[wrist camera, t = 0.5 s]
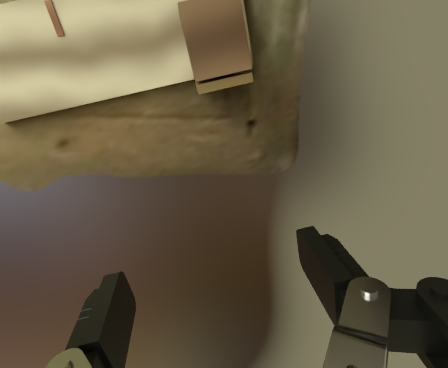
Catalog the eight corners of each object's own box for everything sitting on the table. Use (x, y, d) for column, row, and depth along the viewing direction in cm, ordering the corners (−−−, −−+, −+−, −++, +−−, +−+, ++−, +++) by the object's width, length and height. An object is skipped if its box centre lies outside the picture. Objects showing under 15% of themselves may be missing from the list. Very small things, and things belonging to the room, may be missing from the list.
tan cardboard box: (177, 9, 30) (174, -9, 23) (226, -2, 30) (237, -23, 23) (196, 89, 32) (198, 94, 26) (240, 79, 33) (254, 81, 26)
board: (-47, 21, 29) (-65, 17, 27) (232, -40, 29) (236, -48, 27) (3, 122, 32) (-9, 125, 30) (250, 65, 33) (254, 65, 31)
